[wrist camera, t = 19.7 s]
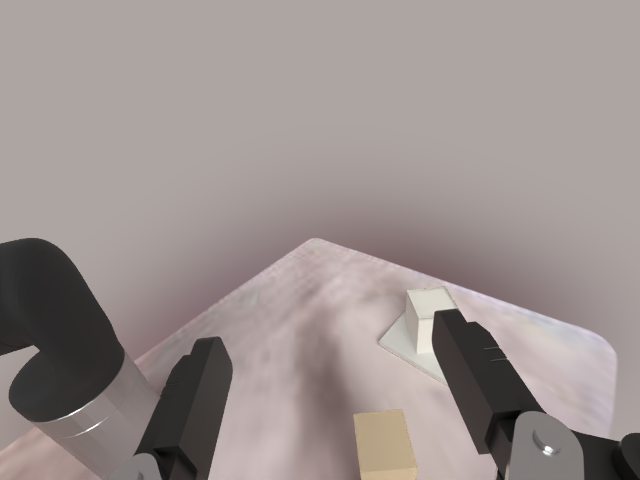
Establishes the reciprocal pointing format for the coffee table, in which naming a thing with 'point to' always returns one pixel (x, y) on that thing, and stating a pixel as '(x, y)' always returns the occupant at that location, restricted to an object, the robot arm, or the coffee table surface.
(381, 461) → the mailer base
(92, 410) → the robot arm
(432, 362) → the grey mat
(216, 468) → the coffee table surface
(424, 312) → the white rectangular block
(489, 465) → the coffee table surface
